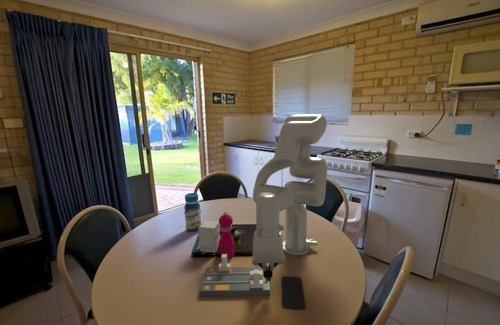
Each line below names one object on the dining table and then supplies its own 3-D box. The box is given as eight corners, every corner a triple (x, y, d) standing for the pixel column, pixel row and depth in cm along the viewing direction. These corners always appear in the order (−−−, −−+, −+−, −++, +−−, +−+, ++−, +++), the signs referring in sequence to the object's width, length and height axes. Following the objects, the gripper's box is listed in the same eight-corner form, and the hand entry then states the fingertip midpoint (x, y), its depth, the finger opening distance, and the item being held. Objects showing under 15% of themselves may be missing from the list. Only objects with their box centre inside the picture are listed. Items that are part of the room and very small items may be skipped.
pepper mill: (222, 260, 102) (220, 216, 98) (216, 252, 108) (214, 210, 104) (238, 256, 105) (236, 213, 101) (231, 248, 111) (229, 207, 107)
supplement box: (215, 254, 106) (214, 228, 104) (199, 253, 108) (198, 227, 105) (220, 246, 113) (219, 221, 111) (206, 244, 115) (204, 219, 112)
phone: (282, 307, 76) (281, 275, 91) (281, 309, 76) (281, 277, 91) (305, 309, 75) (301, 276, 90) (305, 311, 76) (301, 278, 90)
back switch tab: (230, 267, 93) (230, 254, 92) (230, 270, 91) (229, 257, 90) (219, 267, 93) (218, 254, 92) (218, 270, 91) (218, 257, 90)
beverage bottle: (203, 226, 133) (201, 192, 129) (199, 234, 124) (196, 197, 120) (189, 226, 134) (186, 192, 130) (183, 233, 125) (180, 197, 121)
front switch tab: (262, 283, 84) (262, 269, 83) (263, 288, 82) (263, 273, 81) (250, 284, 84) (250, 269, 83) (250, 288, 82) (250, 273, 81)
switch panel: (267, 271, 94) (267, 266, 94) (270, 294, 82) (270, 289, 82) (206, 272, 94) (206, 267, 94) (199, 296, 82) (199, 290, 82)
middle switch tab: (262, 274, 89) (262, 261, 88) (262, 278, 87) (262, 264, 86) (250, 275, 89) (250, 261, 88) (250, 278, 87) (250, 264, 86)
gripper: (288, 223, 82) (287, 271, 86) (245, 224, 82) (246, 272, 86) (292, 234, 75) (291, 286, 79) (244, 235, 75) (246, 287, 79)
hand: (267, 278), depth 82 cm, fingers closed
